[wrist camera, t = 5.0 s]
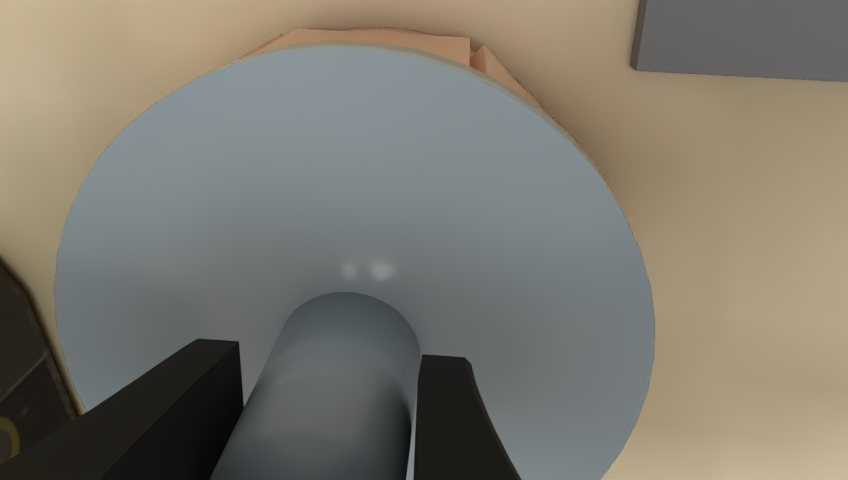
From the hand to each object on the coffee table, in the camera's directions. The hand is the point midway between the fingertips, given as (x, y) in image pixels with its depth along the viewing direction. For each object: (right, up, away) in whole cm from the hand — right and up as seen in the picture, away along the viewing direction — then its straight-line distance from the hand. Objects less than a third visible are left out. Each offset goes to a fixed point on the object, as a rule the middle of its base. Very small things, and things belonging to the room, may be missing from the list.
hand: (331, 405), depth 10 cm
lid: (0, +1, +2) cm, 3 cm away
